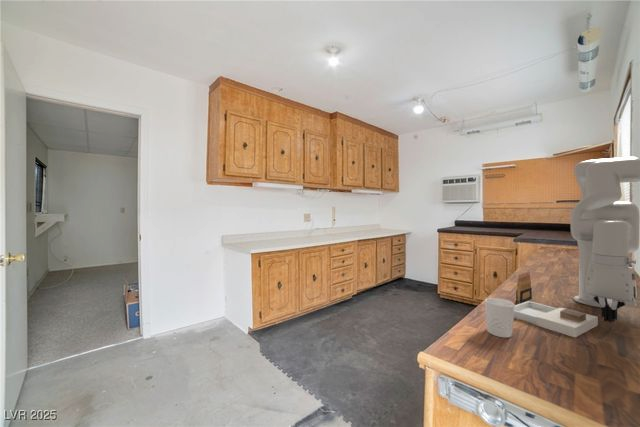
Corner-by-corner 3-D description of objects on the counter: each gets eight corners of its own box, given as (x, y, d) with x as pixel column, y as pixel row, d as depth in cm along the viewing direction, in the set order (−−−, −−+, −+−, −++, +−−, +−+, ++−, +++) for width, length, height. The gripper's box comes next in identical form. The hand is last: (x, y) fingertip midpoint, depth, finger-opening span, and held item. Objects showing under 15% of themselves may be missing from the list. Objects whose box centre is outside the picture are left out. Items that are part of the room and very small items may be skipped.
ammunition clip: (520, 303, 113) (521, 275, 113) (515, 302, 115) (516, 274, 114) (531, 299, 119) (532, 271, 119) (526, 297, 120) (527, 271, 120)
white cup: (509, 329, 88) (509, 299, 88) (518, 340, 81) (518, 307, 81) (482, 326, 91) (482, 296, 91) (488, 336, 84) (488, 304, 83)
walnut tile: (566, 314, 93) (566, 308, 93) (585, 319, 89) (586, 313, 89) (560, 317, 91) (560, 311, 91) (579, 322, 87) (579, 316, 87)
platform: (560, 315, 100) (560, 307, 100) (597, 325, 91) (597, 316, 91) (536, 325, 91) (536, 316, 91) (575, 337, 83) (575, 327, 83)
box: (528, 307, 109) (528, 300, 109) (559, 315, 100) (559, 308, 100) (505, 315, 101) (505, 308, 100) (536, 324, 92) (536, 317, 92)
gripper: (651, 264, 77) (650, 327, 77) (582, 256, 91) (581, 310, 91) (643, 266, 74) (643, 333, 74) (572, 258, 87) (572, 314, 87)
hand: (609, 320), depth 82 cm, fingers closed
